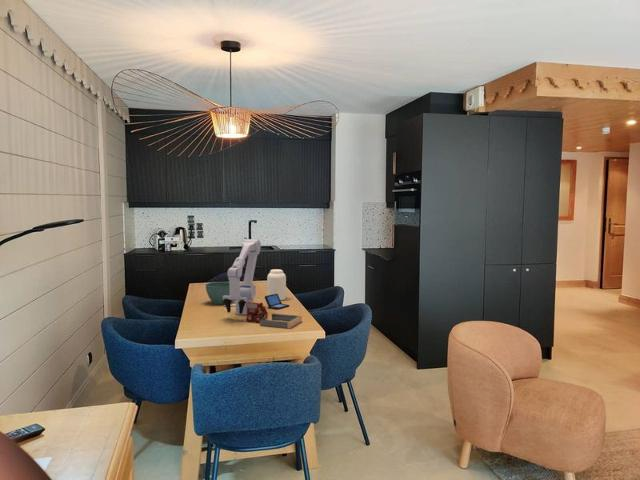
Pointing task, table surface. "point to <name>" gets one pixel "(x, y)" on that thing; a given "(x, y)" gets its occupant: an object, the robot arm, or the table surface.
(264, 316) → the toy fire truck
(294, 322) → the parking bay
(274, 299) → the handheld game console
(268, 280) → the white ceramic jar
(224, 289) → the plant pot
